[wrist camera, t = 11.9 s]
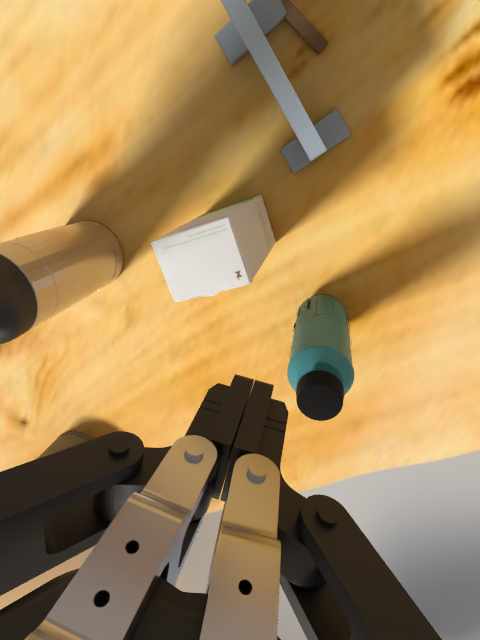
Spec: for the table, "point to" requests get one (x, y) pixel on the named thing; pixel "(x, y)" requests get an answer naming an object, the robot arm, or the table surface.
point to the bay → (304, 27)
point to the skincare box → (216, 250)
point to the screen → (278, 78)
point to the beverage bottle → (321, 357)
